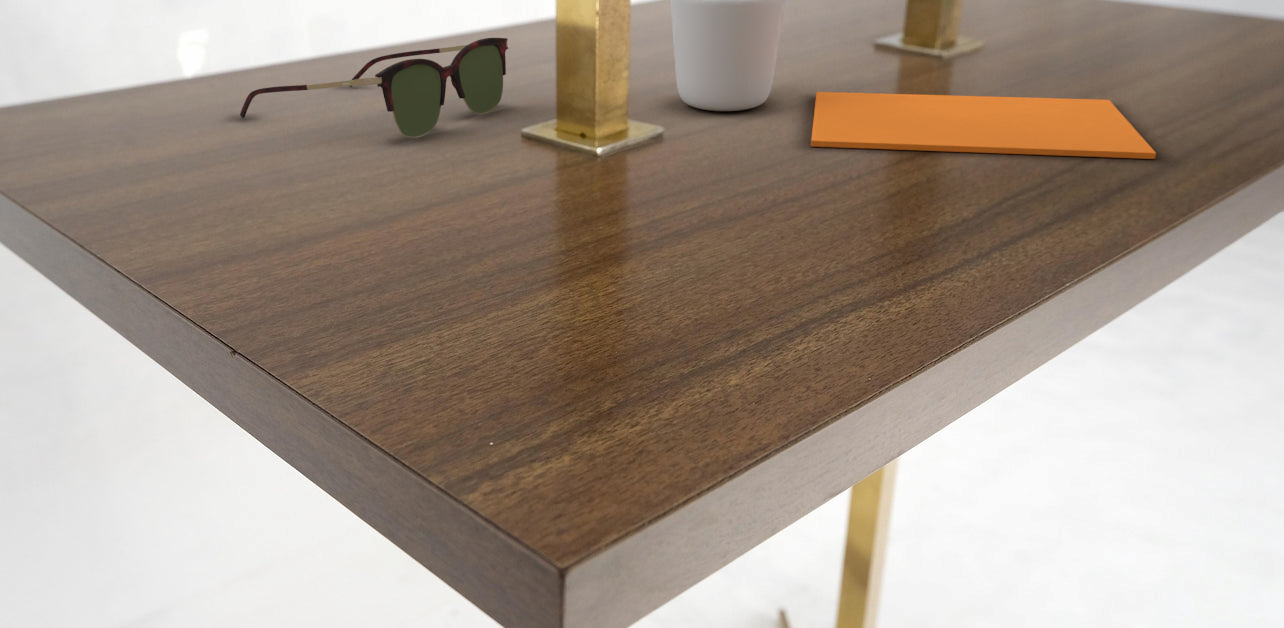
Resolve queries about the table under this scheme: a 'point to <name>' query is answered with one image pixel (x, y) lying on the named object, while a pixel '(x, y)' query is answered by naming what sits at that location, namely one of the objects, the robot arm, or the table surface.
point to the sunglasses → (428, 83)
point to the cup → (725, 51)
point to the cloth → (976, 125)
